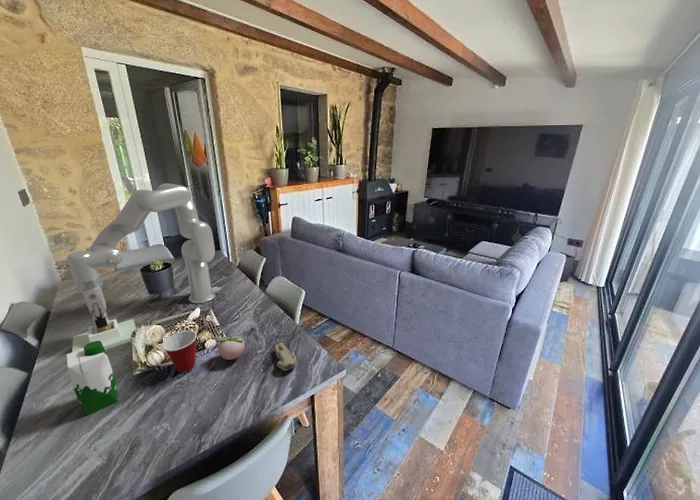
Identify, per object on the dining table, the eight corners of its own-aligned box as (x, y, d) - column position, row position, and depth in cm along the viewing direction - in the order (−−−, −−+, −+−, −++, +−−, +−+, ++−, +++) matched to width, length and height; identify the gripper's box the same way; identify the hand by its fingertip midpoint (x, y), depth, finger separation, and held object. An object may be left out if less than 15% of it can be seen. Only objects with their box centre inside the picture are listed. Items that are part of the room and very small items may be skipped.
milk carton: (122, 401, 89) (104, 348, 82) (83, 419, 83) (61, 363, 76) (117, 385, 95) (101, 334, 88) (81, 401, 89) (60, 348, 82)
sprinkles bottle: (111, 332, 116) (102, 303, 112) (96, 336, 114) (86, 306, 109) (112, 327, 120) (103, 298, 115) (98, 330, 117) (88, 301, 113)
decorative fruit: (218, 368, 103) (214, 345, 100) (221, 354, 110) (217, 332, 107) (245, 364, 105) (242, 341, 102) (246, 350, 113) (244, 328, 110)
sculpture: (268, 355, 112) (281, 377, 99) (268, 344, 111) (280, 365, 98) (286, 350, 115) (300, 371, 103) (286, 339, 114) (300, 359, 102)
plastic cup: (171, 360, 107) (164, 333, 103) (203, 353, 110) (198, 327, 106) (164, 381, 97) (157, 352, 93) (200, 373, 101) (194, 345, 97)
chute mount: (133, 321, 130) (131, 311, 128) (138, 338, 118) (135, 327, 117) (74, 339, 117) (69, 328, 115) (73, 360, 106) (68, 348, 104)
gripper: (103, 287, 106) (115, 330, 112) (100, 273, 118) (112, 312, 124) (75, 294, 101) (90, 337, 107) (76, 278, 113) (89, 318, 119)
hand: (102, 323), depth 115 cm, fingers closed on sprinkles bottle, 4 cm apart
